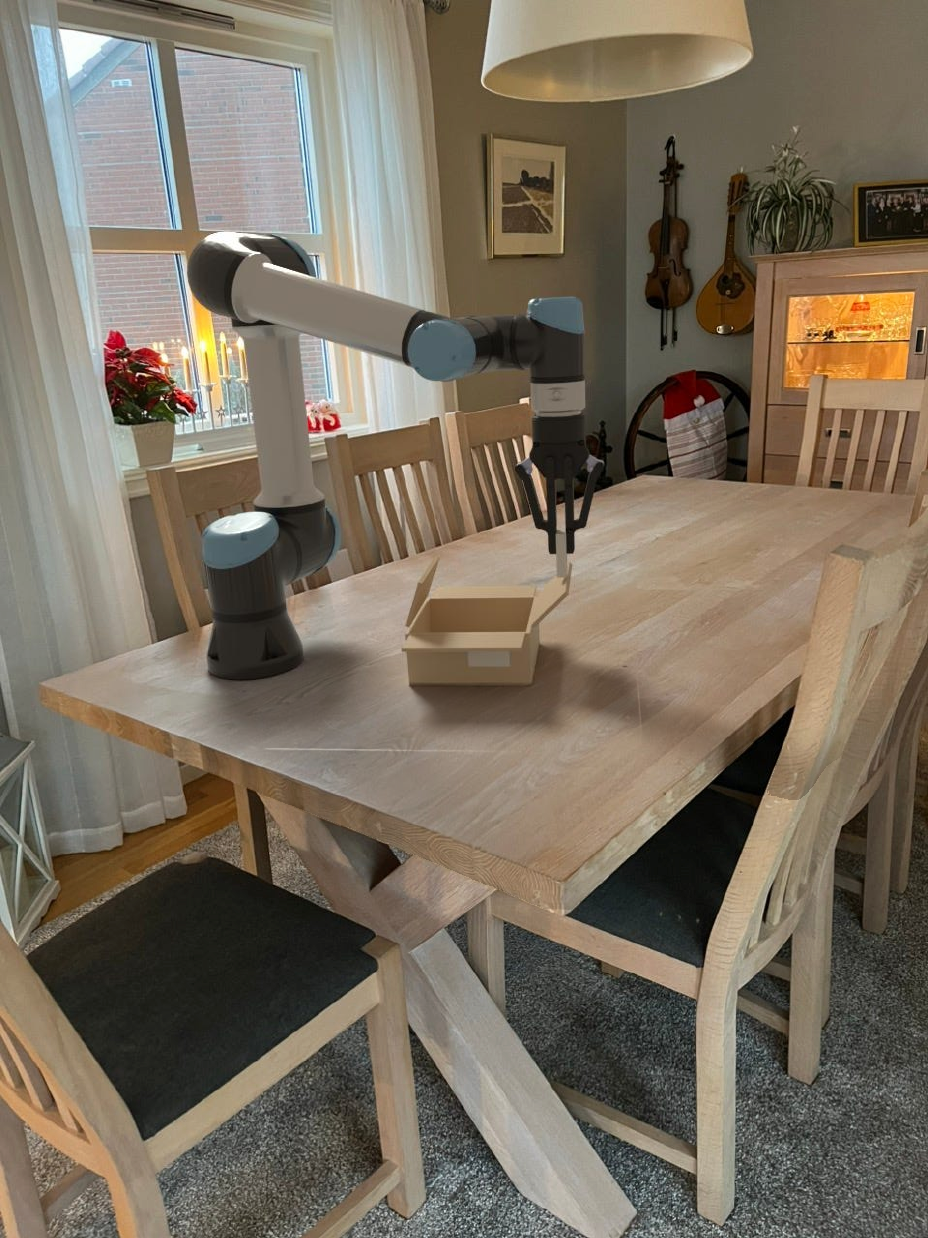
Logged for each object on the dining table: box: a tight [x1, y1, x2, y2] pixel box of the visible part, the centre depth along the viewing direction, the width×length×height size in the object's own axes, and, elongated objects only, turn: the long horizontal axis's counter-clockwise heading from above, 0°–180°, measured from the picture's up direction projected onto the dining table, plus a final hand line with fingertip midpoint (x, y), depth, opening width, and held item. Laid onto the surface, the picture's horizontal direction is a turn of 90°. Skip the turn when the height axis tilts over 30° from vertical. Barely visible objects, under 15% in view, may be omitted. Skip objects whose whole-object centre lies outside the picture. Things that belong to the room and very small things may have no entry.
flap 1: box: [405, 553, 441, 628], centre depth 147 cm, size 1×16×7 cm, turn 172°
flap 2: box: [531, 562, 573, 628], centre depth 144 cm, size 1×16×7 cm
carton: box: [401, 585, 541, 687], centre depth 148 cm, size 18×30×8 cm, turn 172°
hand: (562, 574), depth 143 cm, fingers closed
